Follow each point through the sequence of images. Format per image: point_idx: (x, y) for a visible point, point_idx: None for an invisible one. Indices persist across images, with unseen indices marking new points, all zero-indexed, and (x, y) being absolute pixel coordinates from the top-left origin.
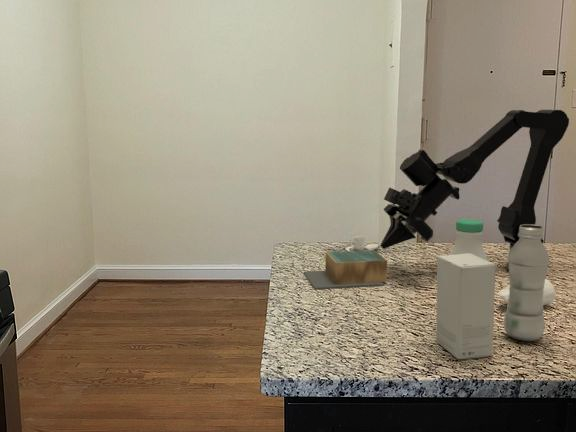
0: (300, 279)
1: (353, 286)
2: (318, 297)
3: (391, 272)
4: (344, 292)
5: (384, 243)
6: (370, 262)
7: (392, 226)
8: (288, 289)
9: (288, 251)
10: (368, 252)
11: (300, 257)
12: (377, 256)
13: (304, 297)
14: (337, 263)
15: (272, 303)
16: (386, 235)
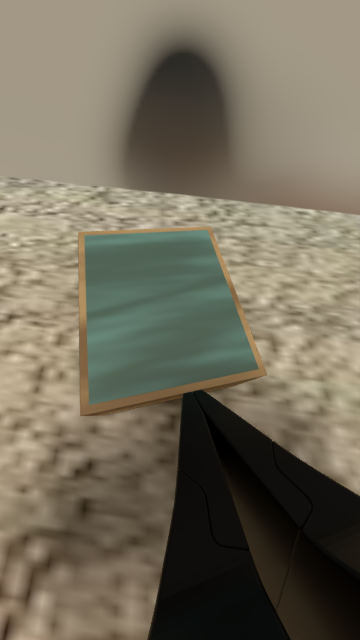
0: (154, 226)
1: None
2: (22, 240)
3: None
4: (43, 291)
5: (181, 411)
6: (82, 339)
7: (314, 538)
8: (90, 203)
9: (345, 227)
10: (219, 347)
11: (310, 240)
12: (154, 377)
13: (30, 220)
14: (79, 237)
15: (11, 177)
16: (235, 432)
